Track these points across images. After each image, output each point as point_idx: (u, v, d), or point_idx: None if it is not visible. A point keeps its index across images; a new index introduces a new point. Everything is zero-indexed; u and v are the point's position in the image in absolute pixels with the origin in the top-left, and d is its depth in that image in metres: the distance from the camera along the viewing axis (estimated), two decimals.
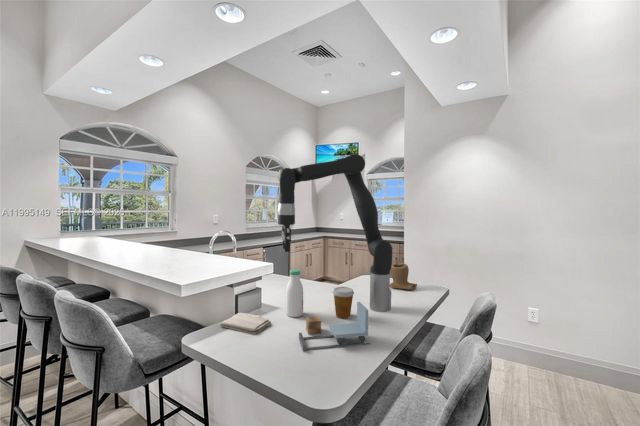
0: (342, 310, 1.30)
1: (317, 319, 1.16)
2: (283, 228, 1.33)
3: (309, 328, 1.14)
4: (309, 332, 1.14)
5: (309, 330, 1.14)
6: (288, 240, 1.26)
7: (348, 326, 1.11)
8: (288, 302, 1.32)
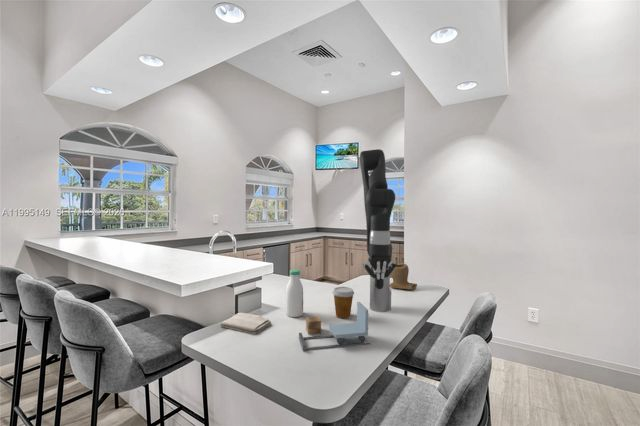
0: (342, 310, 1.30)
1: (317, 319, 1.16)
2: (377, 260, 1.10)
3: (309, 328, 1.14)
4: (309, 332, 1.14)
5: (309, 330, 1.14)
6: None
7: (348, 326, 1.11)
8: (288, 302, 1.32)
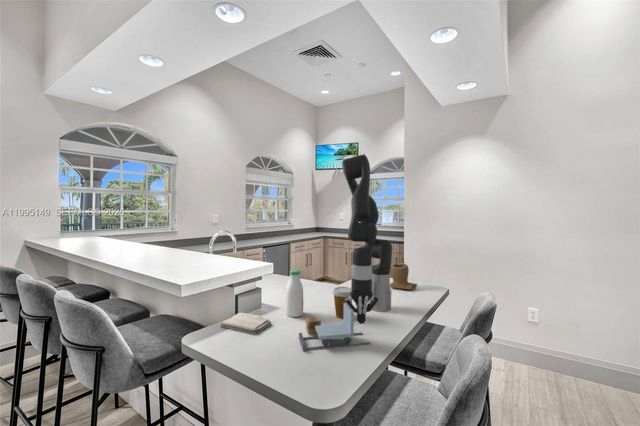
0: (342, 310, 1.30)
1: (317, 319, 1.16)
2: (358, 295, 1.09)
3: (309, 328, 1.14)
4: (309, 332, 1.14)
5: (309, 330, 1.14)
6: None
7: (334, 327, 1.10)
8: (288, 302, 1.32)
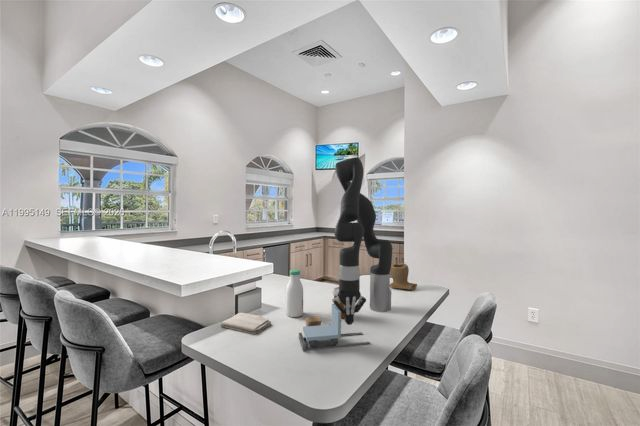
0: None
1: (317, 319, 1.16)
2: (346, 296, 1.08)
3: None
4: None
5: None
6: None
7: (322, 328, 1.09)
8: (288, 302, 1.32)
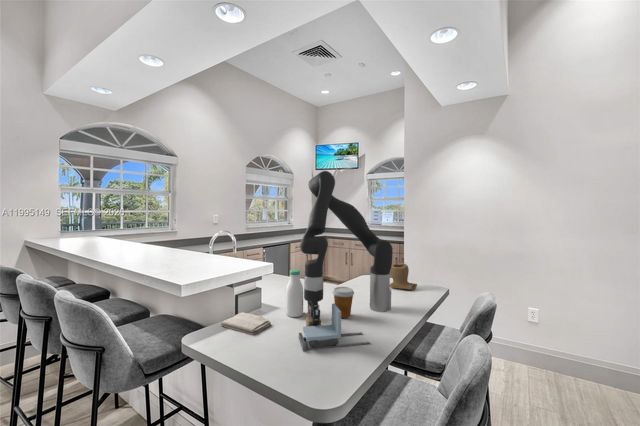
0: (342, 310, 1.30)
1: None
2: None
3: None
4: None
5: None
6: None
7: (322, 328, 1.09)
8: (288, 302, 1.32)
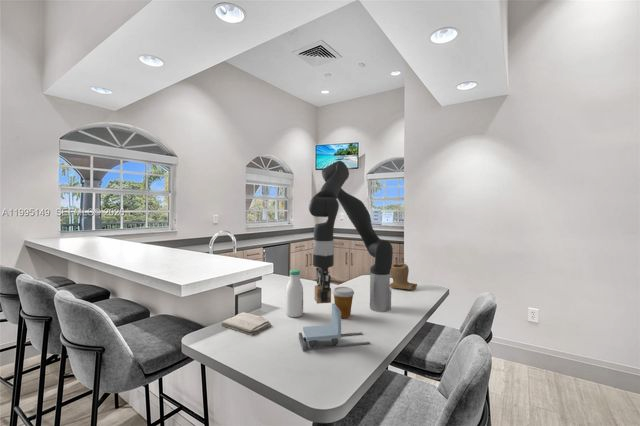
0: (342, 310, 1.30)
1: None
2: None
3: (318, 296, 1.05)
4: (318, 301, 1.05)
5: (318, 298, 1.05)
6: None
7: (322, 328, 1.09)
8: (288, 302, 1.32)
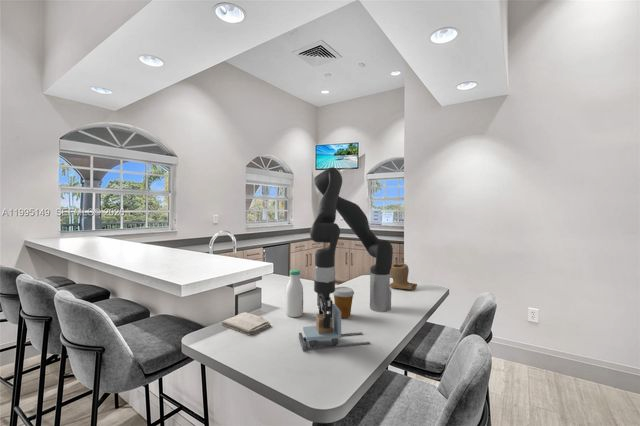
0: (342, 310, 1.30)
1: None
2: None
3: (320, 326, 1.05)
4: (320, 331, 1.05)
5: (320, 329, 1.05)
6: None
7: None
8: (288, 302, 1.32)
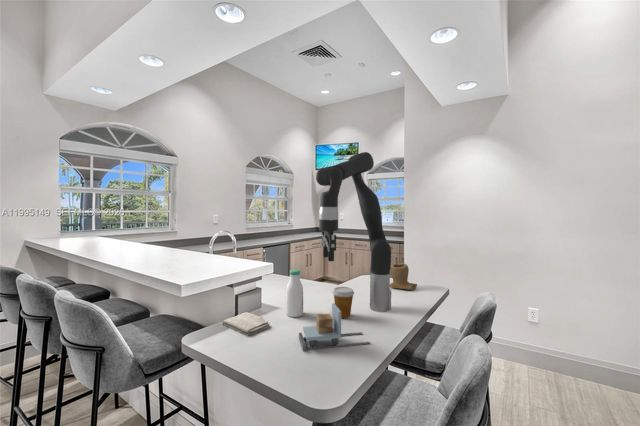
0: (342, 310, 1.30)
1: (328, 317, 1.07)
2: None
3: (320, 326, 1.05)
4: (320, 331, 1.05)
5: (320, 329, 1.05)
6: None
7: None
8: (288, 302, 1.32)
